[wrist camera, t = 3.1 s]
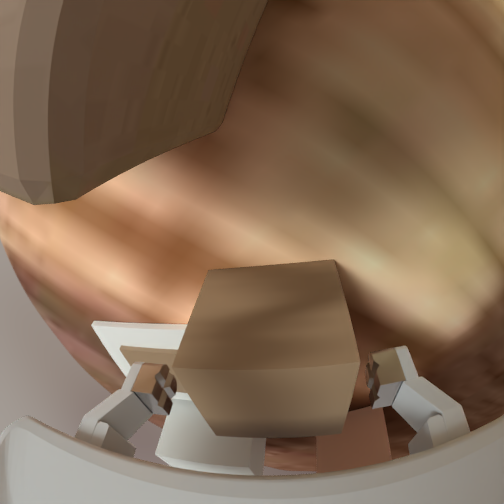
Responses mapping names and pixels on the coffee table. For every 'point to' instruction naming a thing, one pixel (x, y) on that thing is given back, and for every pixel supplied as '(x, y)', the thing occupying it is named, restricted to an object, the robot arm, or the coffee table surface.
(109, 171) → the decorative block
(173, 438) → the base block
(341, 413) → the walnut cube
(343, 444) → the terracotta cube
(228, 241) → the coffee table surface
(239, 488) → the robot arm
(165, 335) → the card
